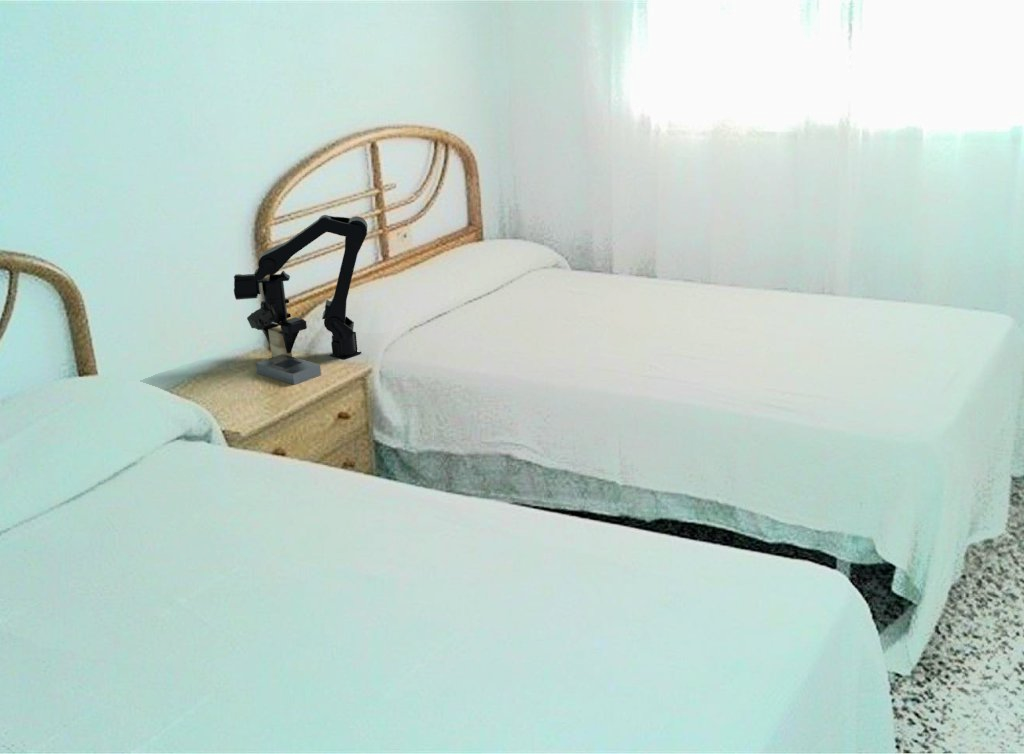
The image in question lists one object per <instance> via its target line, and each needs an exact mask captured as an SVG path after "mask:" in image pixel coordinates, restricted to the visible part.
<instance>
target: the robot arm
mask: <svg viewBox="0 0 1024 754" xmlns="http://www.w3.org/2000/svg"><path fill="white" fill-rule="evenodd" d="M325 233H329V234H334V235H337V236H341V237H344V238H345V239H344V241H345V242H344V253H343V257H342V261H341V265H340V269H339V273H338V277H337V280H336V281H337V282H336V286H335V289H334V290H335V291H334V294H333V297H332V298H331V300H329V299H326V301H325V305H324V310H323V313H322V316H321V320H323V326H324V327H325V329H326V330H327V331H328V332H330V333H331V342H330V343H331V353H330V354H329V356H330V357H334V358H338V359H342V360H347V359H351V358H353V357H356V356H358V355H361V354H362V351H360V352H357V350H358V343H357V342H358V341H357V340H358V339H357V332H356V331H354V327H355V325H354V324H355V323H354V322H355V321H353V320H352V319H350V318H349V317H348V316H347V301H348V299H347V298H348V295H349V291H350V286H351V284H352V283H351V282H352V278H353V274H354V270H355V267H356V263H357V258H358V254H359V252H360V251H361V248H362V246H363V243H364V241H365V239H366V237H367V235H368V223H367V221H366V219H364V217H361V216H357V215H356V216H352V217H347V216H346V217H345V216H333V215H332V216H331V215H328V214H324V215H320V216H319V218H318V219H317V220H316V221H313V222H312V223H311V224H309V225H308V226H307V227H305V228H304V229H302V230H301V231H300V232H299V233H297V234H296V235H294V236H293V237H292V238H289V240H287V241H286V242H284V243H282V244H279V245H276V246H273V247H271V248H270V249H269V248H268V249H267V250H265V251H264V252H263V253H262V254H261V256H260V257H259V259H258V262H257V263H258V268H257V269H255V271H254V273H250V274H248V273H247V274H241V273H240V274H239V273H238V274H237V273H236V274H234V276H233V280H234V281H233V287H234V288H233V294H234V298H235V300H236V301H237V300H239V301H240V300H251V299H253V300H254V299H258V297H259V295H262V293H263V300H262V301H261V302H260V308H258V309H257V310H255V311H254V312H251V314H250V315H248V316H247V318H246V320H247V322H248V324H249V326H250V327H251V329H256V330H258V331H262V332H263V334H264V336H265V338H266V340H267V342H268V344H269V345H270V340H269V332H268V329H271V328H274V327H278V326H281V330H282V331H280V332H279V333H280V334H281V335H282V336H283V338H284V343H285V348H286V351H287V353H291V351H292V350H293V348H294V345H295V343H296V339H297V338H298V334H299V333H300V332H301V331H303V330H307V328H308V324H307V320H305V319H304V318H300V317H292V314H291V313H290V312H288V309H287V304H289V303H290V300H289V298H286V293H285V283H284V282H288V281H290V279H291V276H290V274H288V273H286V271H285V270H282V271H281V272H280V273H278V272H279V271H280V270H281V269H282V268H283V266H285V264H286V263H288V261H289V260H290V259H292V257H293V256H295V254H297V253H298V252H300V251H301V250H303V249H305V247H307V246H308V245H310V244H312V242H314V241H315V240H316V239H318V238H320V237H321V236H323V235H324V234H325ZM267 276H268V277H267ZM291 317H292V318H291ZM360 353H361V354H360Z"/></svg>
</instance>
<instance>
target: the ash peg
mask: <svg viewBox="0 0 1024 754" xmlns="http://www.w3.org/2000/svg"><path fill="white" fill-rule="evenodd" d="M280 331H282V330H281V325H278V327H274V328H271V329H268V332H269V340H270V344H269V346H270V347H269V348H270V353H271V358H272V357H275V356H278V355H281V354H284V355H288V356H291V357H293V353H292V351H291V353H287V351H286V348H285V343H284V338H283V336H282V335H281V334H280V333H279V332H280Z"/></svg>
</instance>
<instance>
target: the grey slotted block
mask: <svg viewBox="0 0 1024 754" xmlns="http://www.w3.org/2000/svg"><path fill="white" fill-rule="evenodd" d="M255 367H256V368H255V369H256V374H258V375H261V376H264V377H268V378H271V379H275V380H277V381H280V382H284V383H286V384H291V385H297V384H301V383H303V382H306V381H308V380H311V378H312V379H314V378H313V377H315V376H317V377H319V376H318V375H320V374H321V375H322V370H321V364H319V363H316V362H312V361H308V360H305V359H301V358H298V357H295V356H292V357H291V356H288V355H284V354H281V355H278V356H275V357H272V356H271V357H270V358H267V359H263V360H259V361H258V362H255ZM321 375H320V376H321ZM315 378H316V377H315Z"/></svg>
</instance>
